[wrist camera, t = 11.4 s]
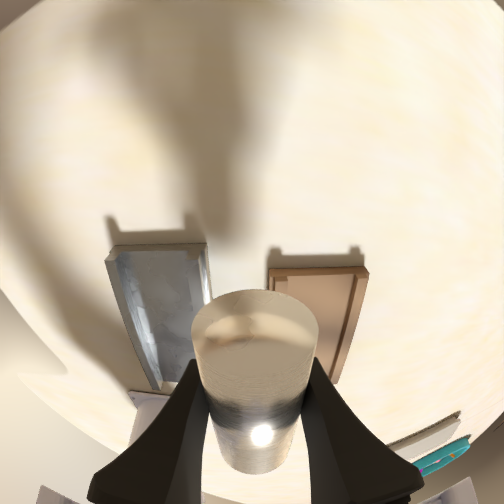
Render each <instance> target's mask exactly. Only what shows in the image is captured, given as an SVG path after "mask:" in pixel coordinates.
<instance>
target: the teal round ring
mask: <svg viewBox="0 0 504 504" xmlns="http://www.w3.org/2000/svg"><path fill="white" fill-rule="evenodd" d="M469 447H470V444H469V442H468V439H467V438H463V439H460V440H458V441H456V442H454V443H451V444H449V445H447V446H445V447H443V448H441V449H439V450H437V451H435V452H433V453H432V454H430V455H428V456H426V457H424V458H422V459H420V460H418V461H416V462H414V463H412V464H413V465H415V466H416V467H418V468H419V471H420V473H421V475H422V477H423V476H426V475H428V474H430V473H432V472H434V471H436V470H438V469H439V468H441V467H443V466H445V465H446V464H448V463H450V462H451V461H453V460H454V459H456V458H457V457H459V456H460V455H461V454H463V453H464V452H465V451H466V450H467V449H468V448H469ZM442 458H443V459H442ZM440 459H441V460H440ZM435 462H436V463H435ZM432 463H434V464H432ZM430 464H432V465H430ZM428 465H430V466H428ZM427 466H428V467H427ZM425 467H426V468H425ZM423 468H424V469H423Z"/></svg>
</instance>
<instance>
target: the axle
mask: <svg viewBox="0 0 504 504" xmlns="http://www.w3.org/2000/svg"><path fill="white" fill-rule="evenodd" d="M318 334H319V329H318V323H317V321H316V318H315V316H314V315H313V313H312V312H311V311H310V309H309V308H308V307H306V306H305V305H304V304H303V303H301V302H300V301H299V300H297V299H295V298H293V297H291V296H288V295H286V294H283V293H280V292H275V291H270V290H261V289H250V290H240V291H235V292H231V293H227V294H224V295H222V296H219V297H217V298H215V299H213V300H212V301H210V302H208V303H207V304H206V305H205V306H203V307H202V308H201V309H200V310H199V312H198V313H197V314H196V316H195V318H194V320H193V323H192V327H191V337H192V342H193V346H194V351H195V356H196V360H197V364H198V369H199V373H200V377H201V381H202V385H203V389H204V393H205V397H206V401H207V405H208V409H209V412H210V416H211V420H212V423H213V427H214V430H215V434H216V437H217V440H218V444H219V447H220V450H221V453H222V456H223V458H224V460H225V461H226V462H227V463H228V464H229V465H230V466H231V467H232V468H234V469H235V470H237V471H240V472H242V473H246V474H263V473H267V472H270V471H272V470H274V469H276V468H277V467H279V466H280V465H281V464H282V463H283V462H284V460H285V459H286V457H287V455H288V452H289V449H290V446H291V442H292V439H293V436H294V432H295V429H296V425H297V422H298V418H299V415H300V411H301V407H302V404H303V400H304V396H305V392H306V388H307V384H308V380H309V376H310V372H311V367H312V363H313V358H314V354H315V349H316V345H317V340H318Z"/></svg>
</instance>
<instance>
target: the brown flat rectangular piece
mask: <svg viewBox="0 0 504 504" xmlns="http://www.w3.org/2000/svg"><path fill="white" fill-rule="evenodd" d="M368 279H369V272H368V271H367V269H366V268H365V266H358V267H326V268H285V269H269V290H270V291H275V292H280V293H283V294H286V295H288V296H291V297H293V298H295V299H297V300H299V301H300V302H301V303H303V304H304V305H305V306H306V307H308V308H309V309H310V311H311V312H312V313H313V315H314V316H315V318H316V321H317V323H318V329H319V334H318V340H317V345H316V349H315V354H314V357H317V358H318V360H319V362H320V364H321V365H322V367H323V369H324V371H325V373H326V374H327V376H328V378H329V379H330V381H331V382H332V384H337V383H338V380H339V378H340V375H341V372H342V369H343V366H344V363H345V360H346V357H347V354H348V351H349V348H350V345H351V342H352V339H353V335H354V332H355V329H356V325H357V322H358V318H359V315H360V311H361V307H362V303H363V300H364V296H365V292H366V287H367V283H368Z"/></svg>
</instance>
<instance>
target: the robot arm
mask: <svg viewBox="0 0 504 504" xmlns="http://www.w3.org/2000/svg"><path fill="white" fill-rule="evenodd" d="M128 395H129V397H130V398H131V400H132V401H133V403H134V405H135V406H136V408H137V409H138V411H137V414H136V418H135V422H134V425H133V429H132V433H131V437H130V441H129V444H128V448H127V449H126V450H125V451H124V452H123V453H122V454H120V455H119V456H118V457H117V458H116V459H115V460H113V461H112V462H111V463H109V464H108V465H106V466H105V467H104V468H102V469H101V470H99V471H98V472H96V473H95V474H94V476H93V478H92V481H91V483H90V486H89V490H88V494H87V499H88V501H90V502H92V503H95V504H206V503H205V497H204V494H203V492H202V491H201V471H202V453H203V445H204V440H205V434H206V428H207V422H208V416H209V409H208V405H207V401H206V397H205V393H204V389H203V385H202V381H201V377H200V373H199V369H198V364H197V360H196V359H191V360H189V363H188V365H187V367H186V369H185V371H184V373H183V375H182V377H181V379H180V381H179V382H178V384H177V386H176V388H175V389H174V391H173V393H172V394H171V396H166V395H157V394H149V393H142V392H135V391H129V393H128ZM300 414H301V419H302V424H303V429H304V433H305V438H306V443H307V448H308V455H309V467H310V482H311V504H408V502H410V501H411V498H410V494H412V493H414V492H415V491H417V490H419V489H421V488H422V487H423V486H424V481H423V477H422V475H421V473H420V471H419V468H418V467H416V466H415V465H413V464H411V463H410V462H408V461H406V460H405V459H403V458H402V457H400V456H399V455H398V454H396V453H395V452H394V451H392V450H391V449H390V448H389V447H387V446H386V445H385V444H384V443H383V442H381V441H380V440H379V439H378V438H377V437H376V436H375V435H374V434H373V433H372V432H371V431H369V430H368V429H367V428H366V426H365V425H364V424H363V423H362V422H361V421H360V420H359V419H358V418H357V417H356V415H355V414H354V413H353V412H352V410H351V409H350V408H349V407H348V405H347V404H346V403H345V401H344V400H343V399H342V397H341V396H340V394H339V393H338V391H337V390H336V389H335V387H334V386H333V384H332V382H331V381H330V379H329V378H328V376H327V374H326V373H325V371H324V369H323V367H322V365H321V364H320V362H319V360H318V358H317V357H314V358H313V363H312V367H311V372H310V376H309V380H308V384H307V388H306V392H305V396H304V400H303V404H302V407H301V411H300ZM36 504H79V503H77V502H75V501H72V500H71V499H69V498H66V497H65V496H63V495H61V494H59V493H57V492H55V491H53V490H51V489H49V488H47V487H45V486H43V485H42V486H41V487H40V491H39V494H38V498H37V502H36ZM418 504H478V500H477V497H476V494H475V490H474V487H473V484H472V481H471V478H470V477H468V478H466V479H464V480H462V481H461V482H459V483H457V484H455V485H454V486H452V487H450V488H448V489H446V490H444V491H443V492H441V493H439V494H437V495H435V496H433V497H431V498H429V499H427V500H425V501H423V502H420V503H418Z"/></svg>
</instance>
